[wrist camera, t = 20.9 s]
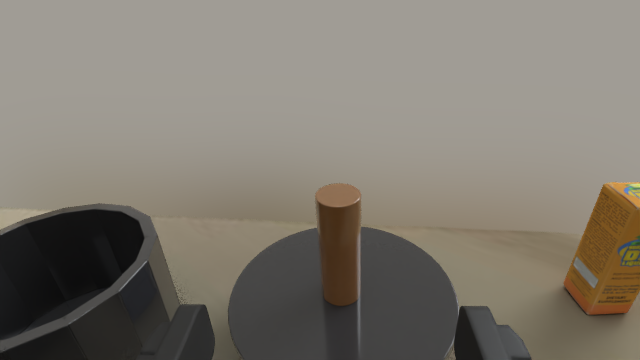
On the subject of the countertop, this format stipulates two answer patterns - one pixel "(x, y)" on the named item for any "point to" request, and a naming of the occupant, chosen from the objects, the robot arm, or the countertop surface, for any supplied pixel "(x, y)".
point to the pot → (82, 285)
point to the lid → (343, 293)
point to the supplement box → (609, 253)
